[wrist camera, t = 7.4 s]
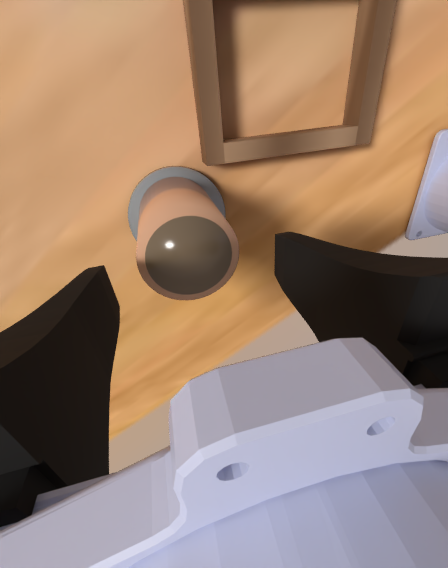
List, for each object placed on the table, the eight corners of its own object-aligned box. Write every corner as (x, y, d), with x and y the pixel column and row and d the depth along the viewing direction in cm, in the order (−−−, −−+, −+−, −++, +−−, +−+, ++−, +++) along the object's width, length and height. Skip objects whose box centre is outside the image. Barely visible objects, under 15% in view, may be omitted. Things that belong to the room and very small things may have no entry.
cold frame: (383, -44, 13) (408, -60, 12) (354, 141, 18) (370, 143, 16) (178, -40, 12) (182, -57, 10) (202, 161, 16) (207, 166, 15)
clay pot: (211, 174, 16) (241, 203, 11) (213, 244, 19) (238, 294, 14) (132, 178, 15) (126, 211, 10) (145, 251, 18) (145, 306, 13)
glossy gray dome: (218, 159, 16) (220, 160, 16) (227, 249, 20) (228, 252, 19) (115, 173, 15) (114, 175, 15) (142, 266, 19) (142, 269, 18)
